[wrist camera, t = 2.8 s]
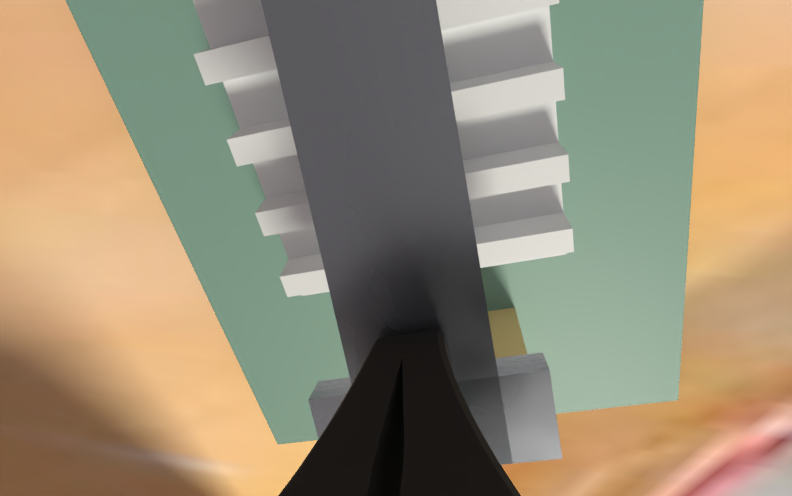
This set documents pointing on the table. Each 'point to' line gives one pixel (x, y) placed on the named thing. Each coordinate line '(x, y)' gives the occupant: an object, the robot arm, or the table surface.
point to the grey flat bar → (398, 205)
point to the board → (484, 170)
